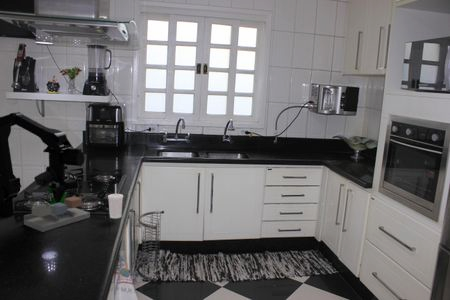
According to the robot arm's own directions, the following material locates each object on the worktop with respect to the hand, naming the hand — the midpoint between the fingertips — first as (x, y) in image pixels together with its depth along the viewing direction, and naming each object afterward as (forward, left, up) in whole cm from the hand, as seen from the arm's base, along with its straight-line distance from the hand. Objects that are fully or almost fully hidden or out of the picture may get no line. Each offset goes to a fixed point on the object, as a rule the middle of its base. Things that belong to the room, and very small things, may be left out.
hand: (57, 202), depth 158 cm
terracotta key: (0, +7, -3) cm, 8 cm away
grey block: (0, -7, -3) cm, 8 cm away
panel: (0, 0, -8) cm, 8 cm away
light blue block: (0, 0, -4) cm, 4 cm away
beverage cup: (+13, +18, -8) cm, 23 cm away
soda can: (-17, +11, -8) cm, 22 cm away
